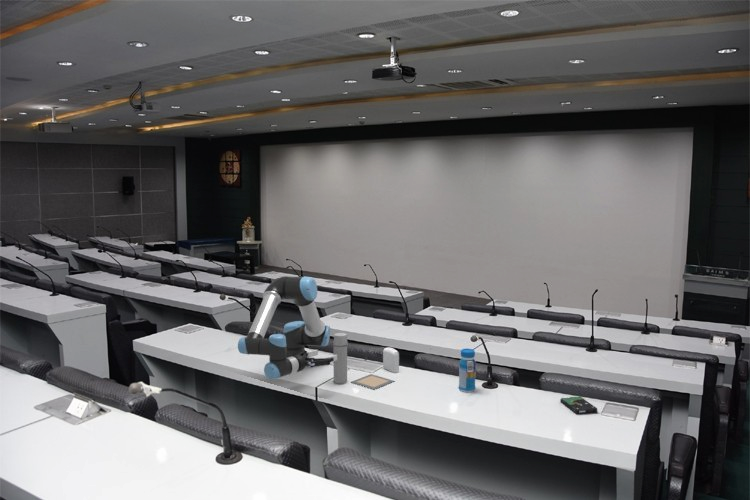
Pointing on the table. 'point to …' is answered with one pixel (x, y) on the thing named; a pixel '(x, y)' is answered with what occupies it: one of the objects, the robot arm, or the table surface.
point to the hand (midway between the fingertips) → (326, 354)
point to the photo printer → (391, 359)
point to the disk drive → (578, 405)
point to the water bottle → (340, 358)
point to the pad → (372, 381)
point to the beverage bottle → (467, 370)
